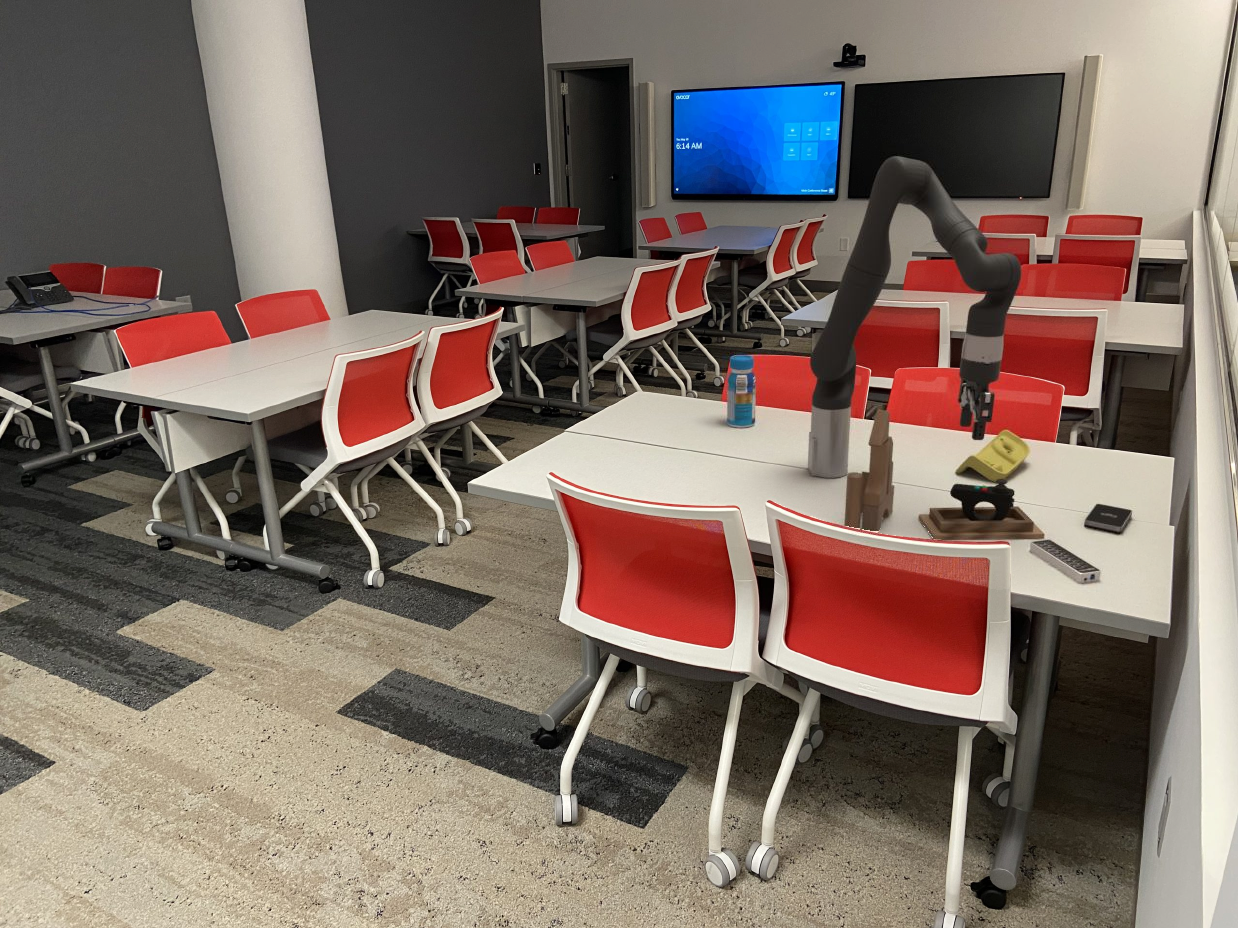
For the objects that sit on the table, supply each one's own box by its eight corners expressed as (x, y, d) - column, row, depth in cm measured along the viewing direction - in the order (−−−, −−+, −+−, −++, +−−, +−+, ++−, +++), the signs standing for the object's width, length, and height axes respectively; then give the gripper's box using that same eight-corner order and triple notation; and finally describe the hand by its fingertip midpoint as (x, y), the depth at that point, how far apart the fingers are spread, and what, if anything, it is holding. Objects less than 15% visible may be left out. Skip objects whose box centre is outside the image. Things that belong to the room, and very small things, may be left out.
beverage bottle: (720, 424, 258) (720, 357, 251) (739, 418, 263) (739, 352, 256) (743, 430, 252) (743, 362, 245) (761, 423, 257) (762, 356, 251)
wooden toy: (862, 507, 197) (868, 399, 188) (892, 512, 194) (900, 402, 185) (842, 533, 184) (848, 418, 176) (874, 538, 181) (882, 422, 172)
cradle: (933, 540, 179) (934, 526, 178) (918, 518, 190) (919, 505, 189) (1043, 538, 178) (1045, 524, 177) (1023, 516, 188) (1024, 503, 187)
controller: (1011, 531, 179) (1016, 485, 176) (946, 523, 184) (951, 479, 181) (1011, 523, 183) (1016, 478, 180) (948, 515, 188) (952, 472, 184)
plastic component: (1003, 476, 205) (967, 451, 209) (987, 498, 210) (952, 474, 214) (1036, 448, 218) (1001, 425, 222) (1020, 470, 222) (986, 447, 227)
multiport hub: (1048, 549, 174) (1049, 538, 174) (1100, 582, 161) (1102, 570, 160) (1028, 552, 173) (1029, 541, 173) (1079, 585, 160) (1081, 573, 159)
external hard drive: (1131, 518, 186) (1132, 510, 186) (1120, 537, 178) (1121, 528, 178) (1095, 511, 190) (1096, 503, 190) (1082, 529, 182) (1084, 520, 182)
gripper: (952, 347, 183) (943, 422, 189) (973, 364, 170) (962, 444, 175) (989, 347, 182) (979, 422, 188) (1013, 364, 169) (1001, 444, 175)
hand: (971, 432), depth 182 cm, fingers open, 8 cm apart
